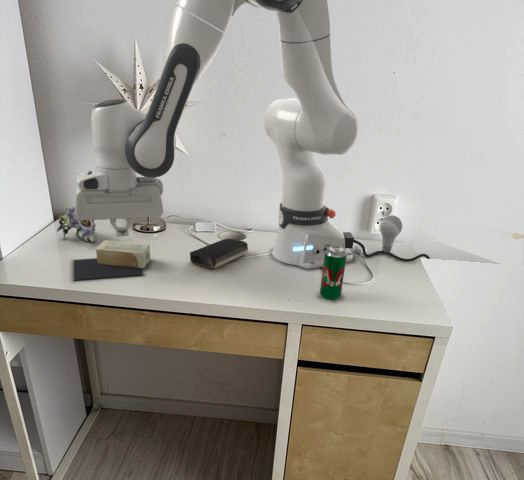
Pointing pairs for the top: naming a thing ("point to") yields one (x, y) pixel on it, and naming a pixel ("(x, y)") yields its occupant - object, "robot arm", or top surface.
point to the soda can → (333, 272)
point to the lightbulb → (390, 231)
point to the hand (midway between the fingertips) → (122, 235)
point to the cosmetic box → (123, 254)
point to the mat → (101, 270)
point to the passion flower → (77, 225)
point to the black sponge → (219, 253)
